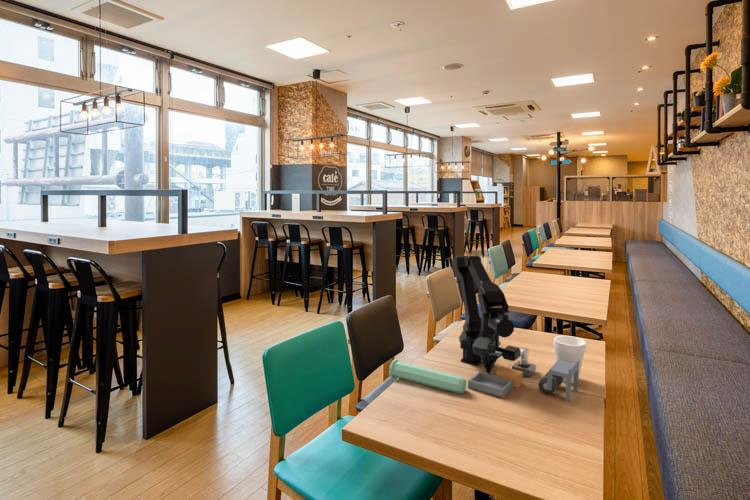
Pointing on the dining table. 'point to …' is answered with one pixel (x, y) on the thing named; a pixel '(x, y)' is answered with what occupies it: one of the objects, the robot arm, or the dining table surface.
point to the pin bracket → (525, 369)
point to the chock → (511, 375)
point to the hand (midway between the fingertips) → (488, 373)
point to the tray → (490, 384)
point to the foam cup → (569, 351)
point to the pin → (524, 358)
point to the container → (427, 376)
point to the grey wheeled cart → (560, 377)
